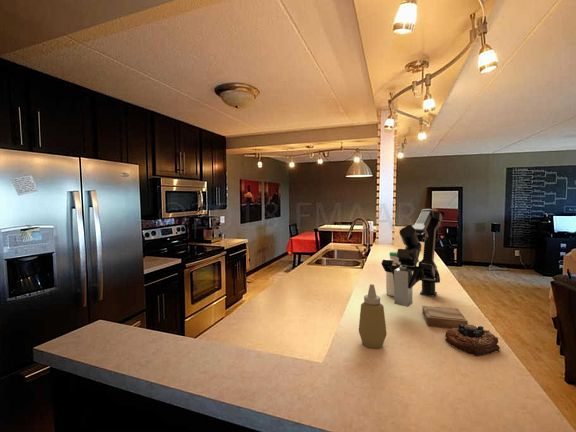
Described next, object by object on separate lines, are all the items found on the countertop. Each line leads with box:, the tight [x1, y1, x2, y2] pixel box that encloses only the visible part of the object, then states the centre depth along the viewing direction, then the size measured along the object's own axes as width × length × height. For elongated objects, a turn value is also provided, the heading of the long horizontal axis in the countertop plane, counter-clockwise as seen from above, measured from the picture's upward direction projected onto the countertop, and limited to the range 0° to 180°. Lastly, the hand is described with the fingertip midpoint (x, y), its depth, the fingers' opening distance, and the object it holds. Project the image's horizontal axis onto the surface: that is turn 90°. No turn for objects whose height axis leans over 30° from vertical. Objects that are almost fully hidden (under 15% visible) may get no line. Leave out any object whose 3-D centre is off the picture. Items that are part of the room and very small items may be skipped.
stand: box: [421, 305, 469, 329], centre depth 99 cm, size 12×12×3 cm
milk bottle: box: [385, 251, 401, 297], centre depth 131 cm, size 8×8×20 cm
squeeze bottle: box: [358, 284, 387, 349], centre depth 83 cm, size 8×8×18 cm
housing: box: [393, 266, 413, 308], centre depth 105 cm, size 5×5×14 cm
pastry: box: [444, 323, 501, 357], centre depth 82 cm, size 11×12×6 cm
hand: (402, 286), depth 104 cm, fingers closed on housing, 5 cm apart
